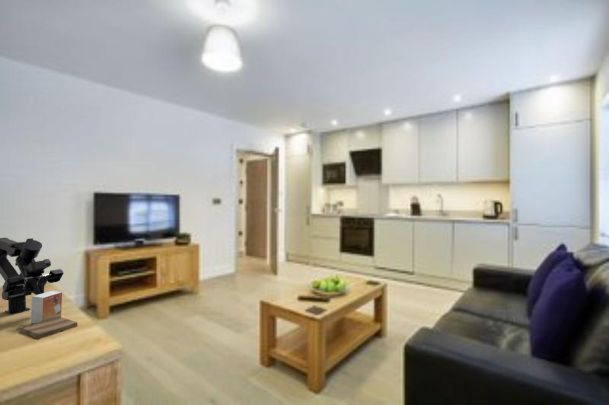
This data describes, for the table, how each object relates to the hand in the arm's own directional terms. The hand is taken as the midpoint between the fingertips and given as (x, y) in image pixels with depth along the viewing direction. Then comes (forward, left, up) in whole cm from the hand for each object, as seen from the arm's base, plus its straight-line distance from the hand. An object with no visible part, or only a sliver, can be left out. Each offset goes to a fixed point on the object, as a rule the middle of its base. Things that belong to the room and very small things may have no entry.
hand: (42, 296), depth 128 cm
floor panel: (+13, -4, -9) cm, 16 cm away
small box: (+2, 0, -9) cm, 10 cm away
